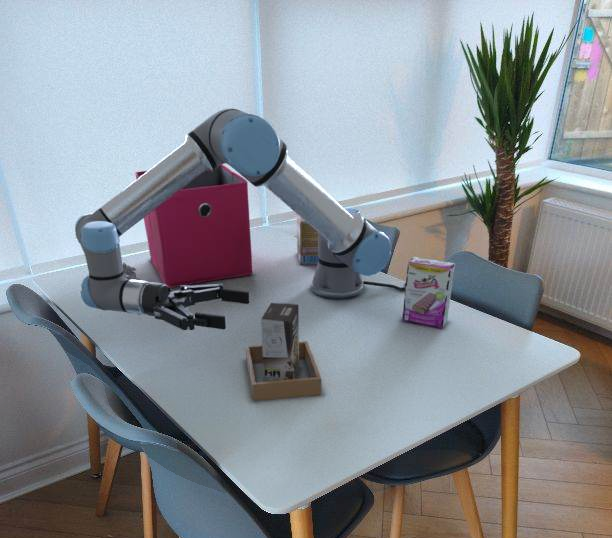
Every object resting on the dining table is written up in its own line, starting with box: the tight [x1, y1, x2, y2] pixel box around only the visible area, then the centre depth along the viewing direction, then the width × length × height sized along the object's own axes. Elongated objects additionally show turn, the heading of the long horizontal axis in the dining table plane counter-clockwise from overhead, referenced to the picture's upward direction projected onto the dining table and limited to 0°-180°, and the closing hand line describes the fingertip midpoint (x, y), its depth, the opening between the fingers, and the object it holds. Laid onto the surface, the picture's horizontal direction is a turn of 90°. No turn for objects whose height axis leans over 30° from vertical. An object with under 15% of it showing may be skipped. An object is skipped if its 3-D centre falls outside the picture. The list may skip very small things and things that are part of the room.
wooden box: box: [244, 340, 322, 402], centre depth 135 cm, size 15×18×4 cm
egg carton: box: [122, 262, 137, 280], centre depth 186 cm, size 11×8×4 cm
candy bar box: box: [401, 256, 456, 329], centre depth 155 cm, size 11×5×16 cm, turn 65°
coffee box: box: [260, 302, 300, 382], centre depth 131 cm, size 9×6×16 cm
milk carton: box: [296, 213, 318, 266], centre depth 196 cm, size 11×11×19 cm
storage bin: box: [134, 164, 254, 289], centre depth 186 cm, size 28×29×28 cm
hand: (237, 310), depth 130 cm, fingers open, 13 cm apart
